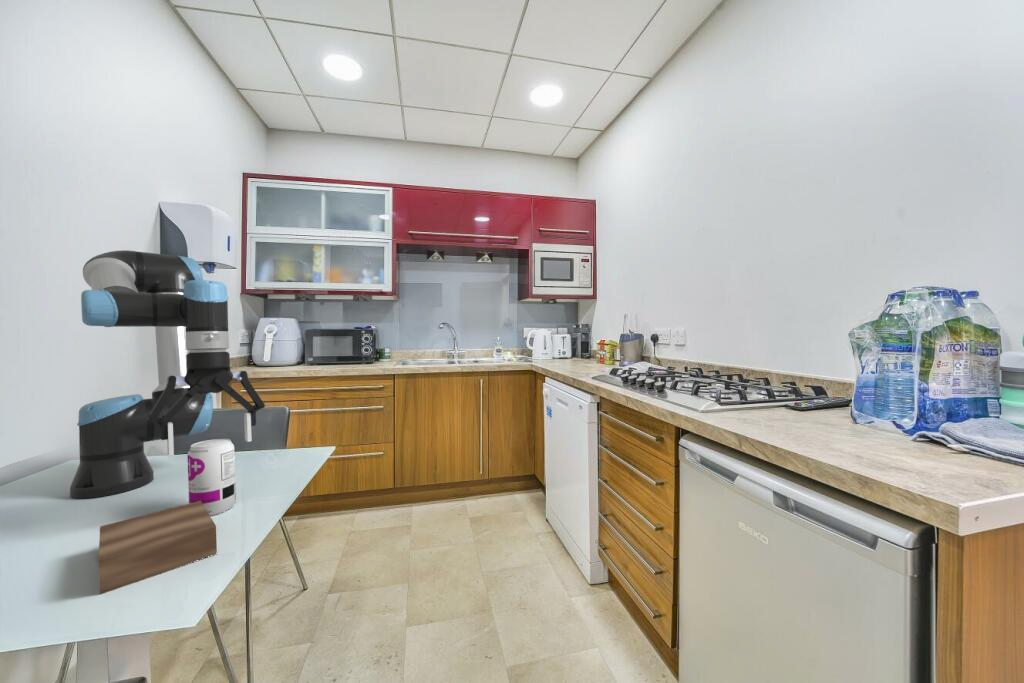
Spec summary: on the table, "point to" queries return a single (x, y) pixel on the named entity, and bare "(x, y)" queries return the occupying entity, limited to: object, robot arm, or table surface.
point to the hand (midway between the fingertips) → (211, 447)
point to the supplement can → (212, 475)
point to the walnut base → (154, 544)
